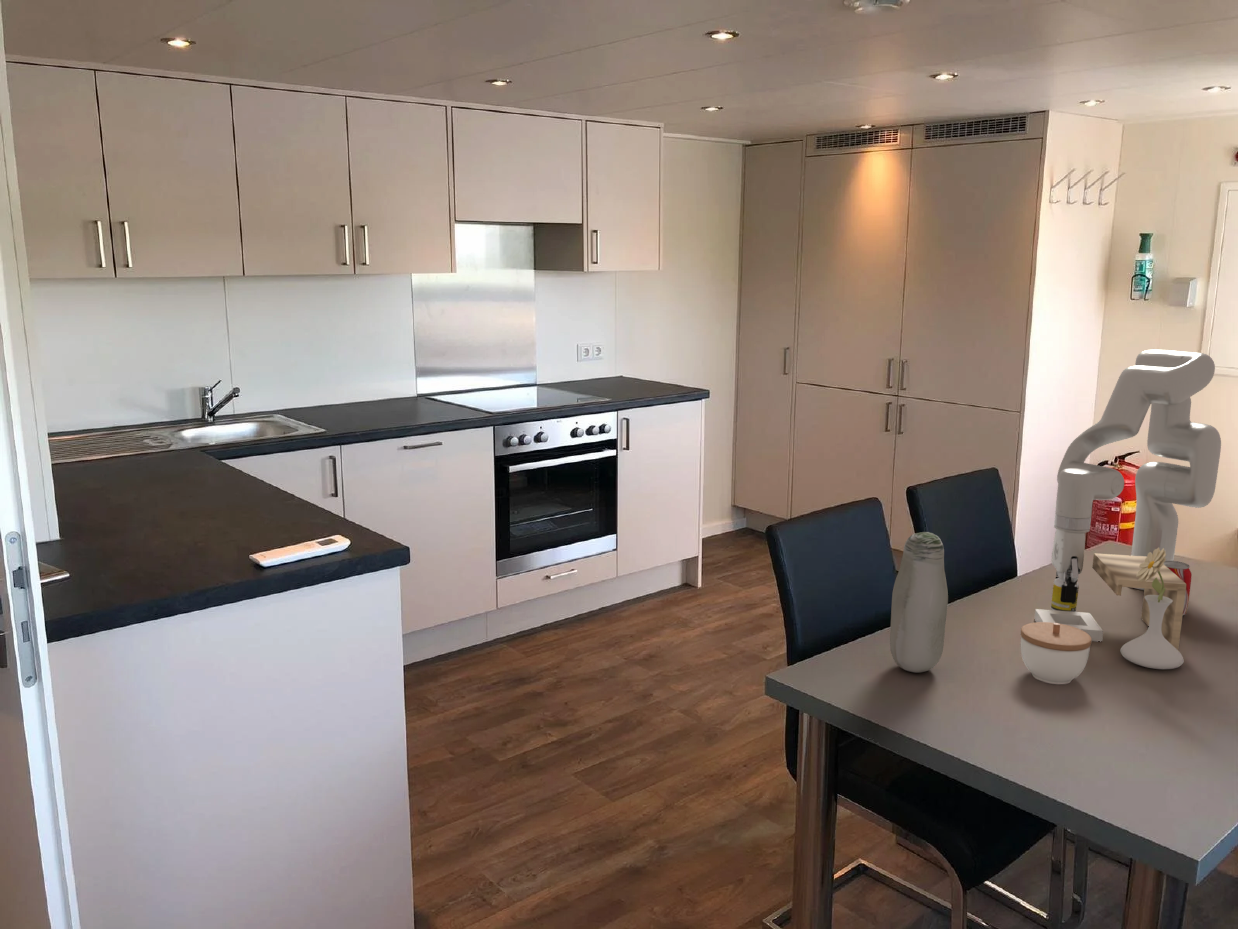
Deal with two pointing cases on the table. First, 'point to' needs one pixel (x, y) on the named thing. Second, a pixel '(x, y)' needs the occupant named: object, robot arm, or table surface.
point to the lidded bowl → (1054, 651)
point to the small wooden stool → (1123, 574)
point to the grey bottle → (919, 604)
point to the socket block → (1072, 621)
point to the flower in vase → (1153, 623)
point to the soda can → (1181, 577)
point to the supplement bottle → (1056, 595)
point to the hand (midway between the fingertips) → (1064, 597)
